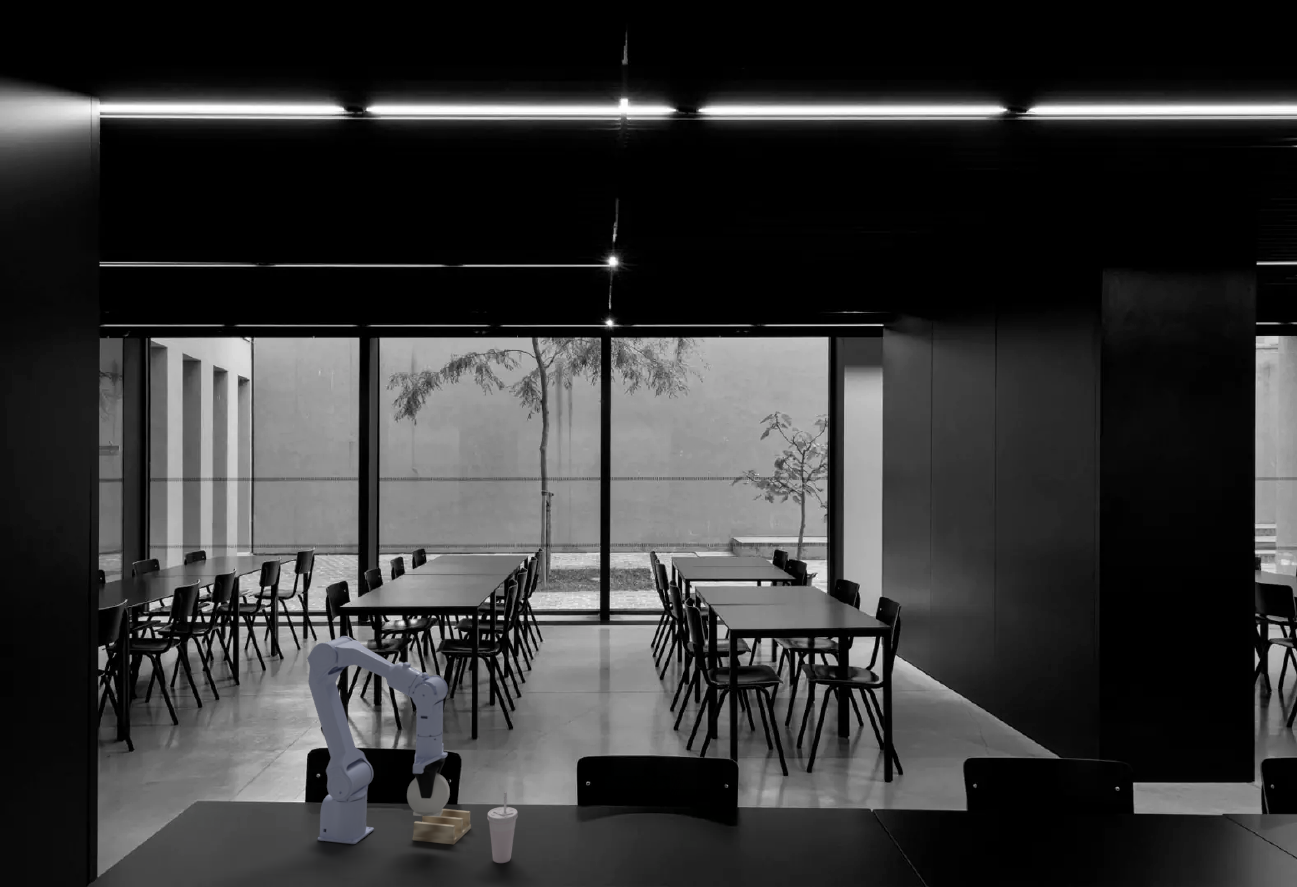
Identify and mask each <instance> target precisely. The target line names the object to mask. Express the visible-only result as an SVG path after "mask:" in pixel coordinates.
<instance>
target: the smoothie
mask: <svg viewBox="0 0 1297 887" xmlns="http://www.w3.org/2000/svg"><path fill="white" fill-rule="evenodd" d="M507 797H508V794H507V791H504V792H503V806H498V807H495V808H492V809H490V810H489V811H488V812H487V817H486V818H487V821H488V823H489V834H490V842H491V843H490V844H491V852H492V861H493V862H494V863H498V864H504V863H508V862H510V860H511V859H512V851H513V845H514V843H513V842H514V836H515V830H516V829H515V828H516V823H517V822H516V821H517V819H518V810H517V809H516V808H514V807H511V806H510V807H509V806H507V805H508V804H507V802H508V800H507Z"/></svg>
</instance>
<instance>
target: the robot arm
mask: <svg viewBox="0 0 1297 887" xmlns="http://www.w3.org/2000/svg"><path fill="white" fill-rule="evenodd" d="M307 661H308V664H309V671H308V686H309V687H308V688H309V689H310V693H311V696H312V700H313V702H314V705H315V709H316V713H317V716H318V719H319V723H320V726H321V729H322V733H323V737H324V739H325V742H326V746H327V749H328V752H329V756H330V760H329V761H328V765H327V767H326V769H325V773H326V775H327V776H326V777H327V784H326V788H327V792H328V794H327V795H326V796H325V798H324V799H323V801H322V803H321V807H320V813H319V814H320V819H319V836H318V837H317V841H322V842H324V841H325V842H332V843H340V844H348V845H349V844H350V845H355V844H358V843H359V842H360V841H361V840H363V839H364V838H365V837H366V836H368V835H369V834H370V833H371V832H373V831H375V828H374V827H371V826H367V810H368V809H367V804H368V801H367V800H368V788H369V785H370V783H372V781H373V778H374V769H373V766H372V765H371V763H370V762H369V761H368V759H367V758H366V755H365V752H363V751H362V750H360V749H359V748H357V747H356V745H355V742H354V739H353V738H354V737H353V735H352V731H351V728H350V724H349V721H348V718H347V716H346V711H345V708H344V705H343V703H342V699H341V696H340V692H339V688H338V686H337V681H338V679H339V677H340V675H341V673H342V672H343V670H344V669H345V668H346V667H349V666H357V667H359V668H362V669H365V670H367V671H368V672H371V673H373V674H376V675H378V676H380V677H381V678H382V677H383V678H384V679H386V684H387V686H388V687H389V688H391V689H394V690H396V691H398V692H400V693H401V694H404V695H405V696H407V697H409V698H411V700H412V702H413V704H414V706H415V708H416V723H415V724H416V726H415V727H416V728H415V730H416V731H415V732H416V733H415V754H414V763H413V765H412V767H411V772H412V774H413V775H414V777H415V778H416V779H417V782H418V786H419V790H420V795H421V798H428V799H430V798H431V796H432V793H433V786H434V780H435V776H436V773H439V774H440V775H441V771H442V768H443V766H444V765H445V762H446V758H447V757H448V754H449V753H448V752H446V751H444V750H445V749H444V746H445V743H443V729H444V699H445V698H446V696H447V695H448V691H449V690H448V689H449V686H448V684H447V682H446V680H445V679H444V678H443V677H441V676H440V675H438V674H434V675H431V676H430V675H429V673H427V672H422V671H420V670H418V669H416V668H414V667H412V666H411V665H412V664H411V663H410V662H408V661H405V662H398V663H395V664H394V663H392V662H391V661H389V660H388V659H385V658H384V657H383V656H381V655H380V654H378V653H375V652H374V651H372V650H371V649H369V648H368V647H366V646H364V645H363V644H362V643H361V641H359V640H356V639H353V638H352V637H350V636H347V635H342V636H340V637H337V638H334V639H331V640H329V641H325V642H320V643H318V644H316V645H315V646H314V647H313V648H312V649H311V651H310V652H309V655H308V657H307Z"/></svg>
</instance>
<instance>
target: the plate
mask: <svg viewBox="0 0 1297 887" xmlns="http://www.w3.org/2000/svg"><path fill="white" fill-rule="evenodd" d="M406 792H407V793H406V799H407V803H408V805H409V807H410V809H411V810H412V811H413V812H412V814H413V815H412V816H413V817H416V816H417V817H422V816H437V817H440V816H441V814H442V813H443V809H444V807H445V806H446V805H447V804H448V801H449V798H450V796H451V794H450V792H451V791H450V786H449V783H448V780H446V777H444V776H443V775H441V773H440V774H439V773H436V776H435V780H434V786H433V793H432V796H431V798H430V799H428V798H421V795H420V790H419V786H418V782H417V779H416V777H415V778H414V779H413V780H412V781H411V782H410V783H409V786H408V787H407V791H406Z"/></svg>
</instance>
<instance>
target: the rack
mask: <svg viewBox="0 0 1297 887" xmlns="http://www.w3.org/2000/svg"><path fill="white" fill-rule="evenodd" d="M421 818H422V819H421V821H416V820H415V821H414V822H413V833H412V834H413V835H412V841H418V842H427V843H436V844H437V843H438V844H445V845H446V844H447V845H455V844H456V843H457V842H458V841H460V839H461V838H463V836H464V835H465V834H467V833H468V832H469V830H471V828H472V824H471V810H470V811H469V810H460V809H458V810H457V809H449V808H443V813H442V814H441V816H440V817H437V816H421Z"/></svg>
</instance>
